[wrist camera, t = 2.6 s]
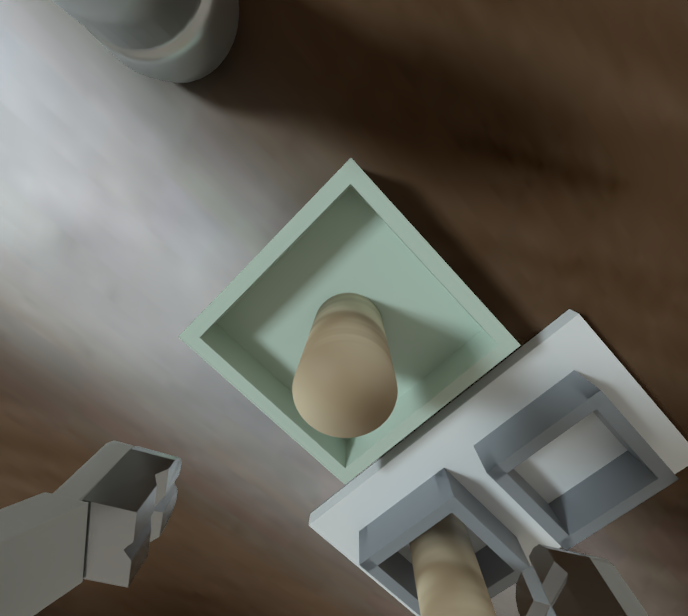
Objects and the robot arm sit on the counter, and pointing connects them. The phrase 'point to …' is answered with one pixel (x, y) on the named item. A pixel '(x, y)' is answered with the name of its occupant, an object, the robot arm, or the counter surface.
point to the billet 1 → (346, 369)
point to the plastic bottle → (161, 33)
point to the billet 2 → (448, 572)
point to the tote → (361, 278)
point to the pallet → (512, 464)
